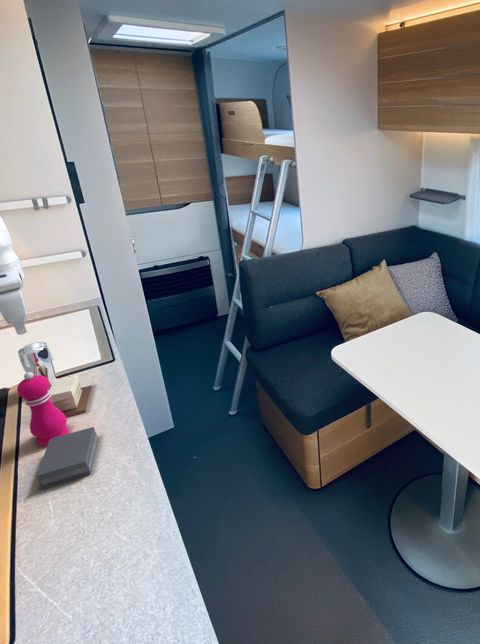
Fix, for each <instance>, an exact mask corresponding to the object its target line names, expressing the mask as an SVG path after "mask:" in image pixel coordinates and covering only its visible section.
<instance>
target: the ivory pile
mask: <svg viewBox="0 0 480 644" xmlns="http://www.w3.org/2000/svg"><path fill="white" fill-rule="evenodd" d="M93 389H94V386H93V385H92V384H91V385H87V386H83V387H81V382H80V381H79V382H78V385H77V388H76V391H75V394H74V397H72V398H68V399H64V400H59V401H55V402H52V404H53V405H54V407H56V408H57V409H59V410H60V411H62V412H63V413H64V415H65V416H66V418H69V417H73V416H77V415H81V414H85V413H87V411H88V407H89V403H90V400H91V396H92V394H93V393H92V392H93Z"/></svg>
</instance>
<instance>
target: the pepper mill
mask: <svg viewBox="0 0 480 644" xmlns="http://www.w3.org/2000/svg"><path fill="white" fill-rule="evenodd" d="M23 378H24V379H22V380H21V381H20V382H19V383H18V385H17V387H16V392H17V395H18V396H19V397H20V398H22V399H23V402H24V404H25V405H26V406H28V407H29V409H30V412H31V415H30V422H29V430H30V434H31V435H32V436H33V437H35V438H36V442H37V443H38V445H40V446H48V443H49V440H50V439H51V438H54V437H58V436H62V435H65V434H69V428H68V426H67V422H68V418H67V417H66V416H65V415H64V413H63V412H62V411H60V410H59V409H57V408H56V407H54V405H53V404H52V402H51V400H50V397H51V393H50V391H49V390H48V389H49V386H50V384H49V381H48V379H47V378H46V377H44V376H41V375H34V374H33V373H32V372H28V373H26V372H25V374H24V375H23Z"/></svg>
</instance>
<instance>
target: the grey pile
mask: <svg viewBox="0 0 480 644" xmlns="http://www.w3.org/2000/svg"><path fill="white" fill-rule="evenodd" d="M98 443H99V436H98V434H97V432H96V429H95V427H94V426H92V427H91V426H90V427H87V428H85V429H84V428H83V429H80V430H76V431H73V432H68V434H65V435H62V436H58V437H54V438H51V439H50V440H49V443H48V445H46V449H45V451H44V453H43V457H42V460H41V462H40V465H39V468H38V471H37V473H36V478H37V481H40V482H41V489H42V490H44V489H47V488H51V487H54V486H57V485H60V484H64V483H67V482H70V481H73V480H76V479H79V478H83V477H86V476H90V475H92V471H93V466H94V461H95V457H96V451H97V448H98V447H97V446H98Z"/></svg>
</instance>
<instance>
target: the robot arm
mask: <svg viewBox="0 0 480 644" xmlns="http://www.w3.org/2000/svg"><path fill="white" fill-rule="evenodd" d="M11 237H12V236H11V234H10V232H9V230H8V227H7V225H6V223H5V221H4V219H3V218H2V216H1V215H0V314H1V316H2V318H3V320H5V322H6V323H7V324H8V325H12V327H13V328H14V330H15V333H16V335H18V336H20V335H21V336H22V335H24V334H26V333H27V332H28V331H27V328H26V325H25V321H27V319H28V312H27V311H28V310H27V307H26V303H25V299H24V293H23V290H22V289H23V287H24V282H23V281H24V279H25V278H26V277H25V272H24V270H23V266H22V264H21V261H20V258H19V257H18V255H17V253H15V251H14V249H13V240H12V238H11Z"/></svg>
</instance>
